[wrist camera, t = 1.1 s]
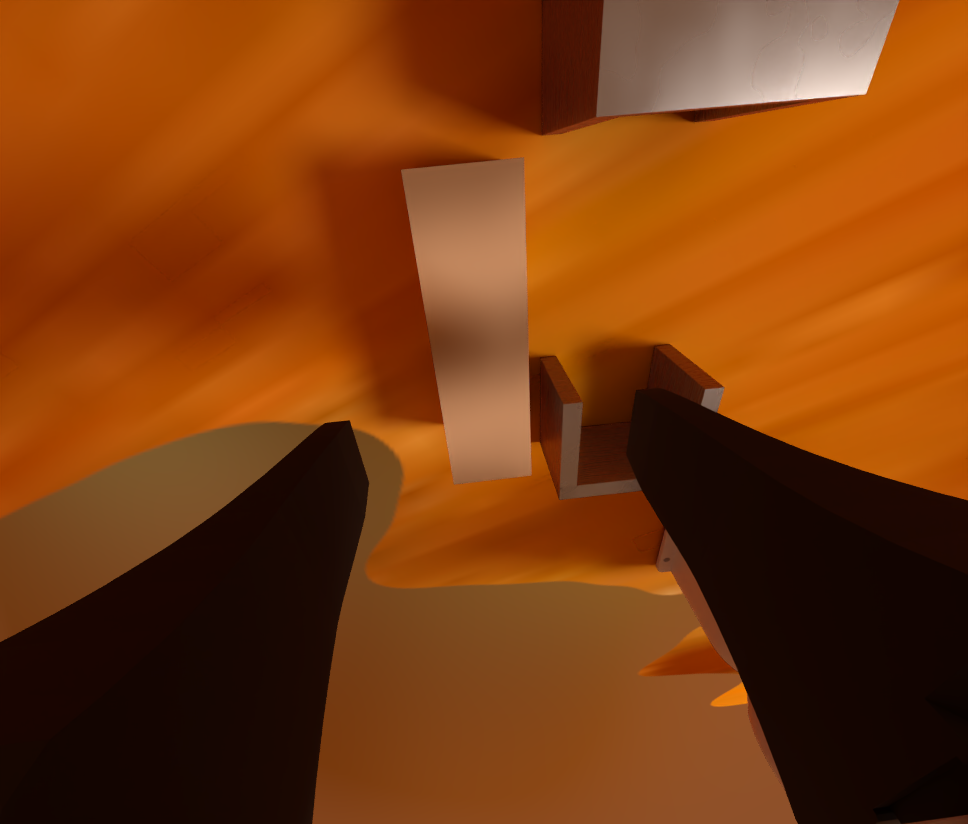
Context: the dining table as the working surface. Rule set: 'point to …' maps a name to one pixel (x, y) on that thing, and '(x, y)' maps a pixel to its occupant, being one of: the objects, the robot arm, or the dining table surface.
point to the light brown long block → (476, 309)
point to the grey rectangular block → (703, 56)
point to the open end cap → (605, 426)
